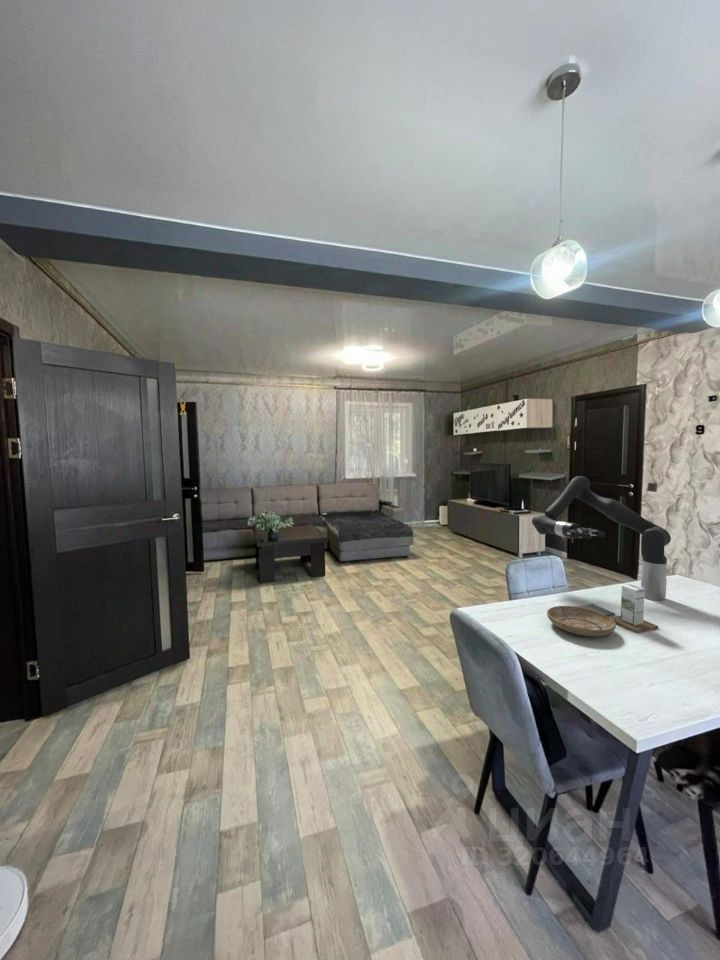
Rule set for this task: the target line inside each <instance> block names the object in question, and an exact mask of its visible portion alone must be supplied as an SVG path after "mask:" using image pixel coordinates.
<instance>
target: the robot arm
mask: <svg viewBox="0 0 720 960" xmlns="http://www.w3.org/2000/svg"><path fill="white" fill-rule="evenodd" d="M590 486H591V485H590V480H589V478H587V477H586V476H584V475H583V476H582V475H578V476H577V475H576V476H575V477H574V478H572V479H571V480H570V482H569V484H568V485H567V486H566V488H565V489H564V490H563V492H562V493H561V494H560V496H558V498H557V499H555V500H554V501H553V503H552V504H551V505H549V506H548V508H547V509H545V511H544V515H543V514H538V515H534V516H533V518H532V519H531V523H532V526H533V527H534V528H535V530H536V531H537V533H538V534H540V535H547V534H548V533H549V534H552V535H555V536H558V537H559V536H560V537H562V538H568V539H570V540H571V539H572V540H575V539H579V538H580V539H582V538H583V539H589V540H590V539H591V538H592V536H593V537H594V536H595V537H600V538H605V532H604V531H600V530H599V529H597V528H595V529H594V528H589V527H587V528H585V527H581V526H580V525H579V524H578V523H575V522H569V521H560V520H558V519H559V518H560V517H561V516H562V514H564V513H565V512H566V511H567V509H568V507H569V506H570V504H571V503H572V501H573V500H574V499H575V498H576V499H578V500H579V501H582V502H583V503H585V504H587V505H589V506H590V507H592V508H594V509H595V510H597V511H598V512H600V513H601V514H603V515H604V516H605V517H606V518H608V519H609V520H611V521H613V522H615V523H617V524H619V525H622V526H623V527H627V528H629V529H632V530H633V531H636V532H637V533H639V534H640V535H641V536H640V537H641V538H640V555H641V557H642V559H641V560H642V561H641V578H640V579H641V580H640V587H642V588H645V598H644V599H647V600H653V601H664V600H665V599H666V597H667V582H668V581H667V580H668V578H667V565H668V563H667V562H668V561H667V560H668V557H667V556H666V555H665V546H667V545H668V544H670V543H671V540H672V537H671V534H670V533H669V531H668V530H667V529H665V528H663V527H662V526H659V525H657V524H655V523H654V522H651V521H650V520H647V519H646V518H644V517H643V516H641V515H639V514H638V513H637V512H635V511H634V510H632V509H630V507H628V506H626V505H625V504H623V503H621V502H620V501H618V500H616V499H614V498H609V497H603V496H600V495H599V494H597V493H595V492H593V491H592V490H591V489H590Z"/></svg>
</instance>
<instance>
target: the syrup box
mask: <svg viewBox="0 0 720 960" xmlns="http://www.w3.org/2000/svg"><path fill="white" fill-rule="evenodd" d="M620 599H621V600H620V601H621V602H620V615H621V620H622V621H625V622H627V623H630V624H632V625H639V624H642V623H643V620H644V614H645V599H646V598H645V588H642V587H641V586H638V585H636V584H632V583H626V584H623V585H621V598H620Z"/></svg>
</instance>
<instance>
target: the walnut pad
mask: <svg viewBox="0 0 720 960" xmlns="http://www.w3.org/2000/svg"><path fill="white" fill-rule="evenodd" d="M609 617H610V618H611V619H613V620H614V621H615V624H616V626H620V627H622V628H624V629H626V630H628V631H631V632H633V633H635V634H639V633H643V632H648V631H653V630H656V629H657V630H658V629H659V625H657V624H655V623H652V622H649V621H647V620H643V623H642V624H639V625H632V624H630V623H627V622H625V621H622V620H621V614H620V615H617V616H616V615H614V616H609Z"/></svg>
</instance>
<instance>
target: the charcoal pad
mask: <svg viewBox="0 0 720 960" xmlns="http://www.w3.org/2000/svg"><path fill="white" fill-rule="evenodd" d="M575 607H581V608H586V609H590V610H594V611H597V612H599V613H602V614H604V615H607V616H608V617H615V616H616V613H615V612H613V611H611V610H608V609H606V608H603V607H602V606H598V605H597V604H594V603H588V604H581V605H576V606H575Z"/></svg>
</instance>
